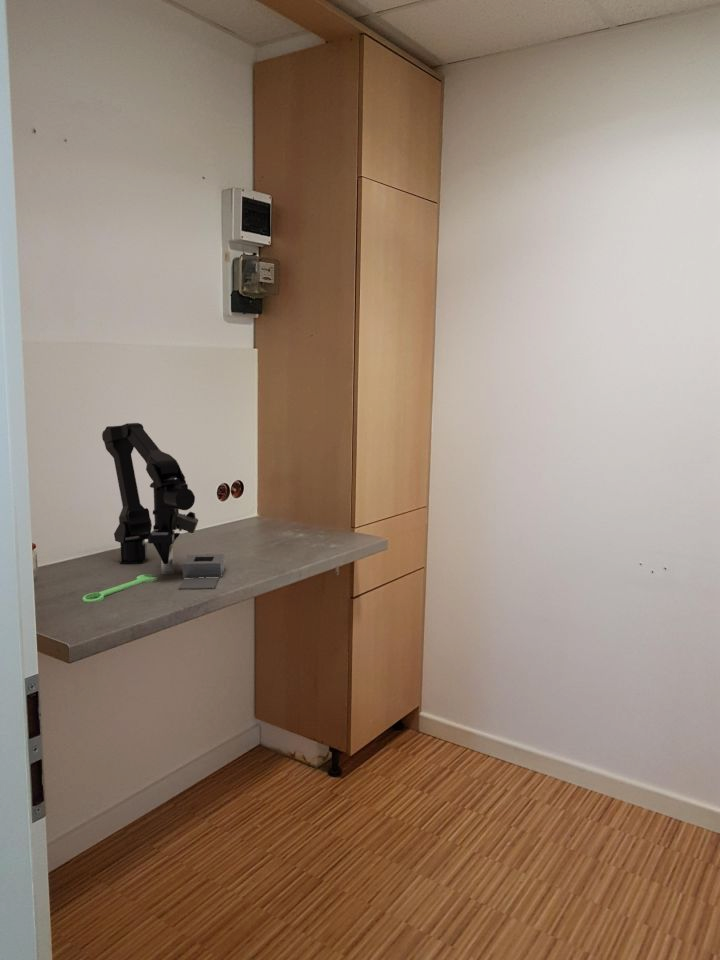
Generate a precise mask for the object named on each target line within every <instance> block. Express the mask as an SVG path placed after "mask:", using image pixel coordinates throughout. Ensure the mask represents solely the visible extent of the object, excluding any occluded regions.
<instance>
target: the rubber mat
mask: <svg viewBox="0 0 720 960" xmlns="http://www.w3.org/2000/svg"><path fill="white" fill-rule="evenodd" d="M217 581H219V578H193V579H183V578H182V581H181V583H180V585H179V586H178V589H191V590H211V589H210V588H215V589H216V587H217V584H218V582H217ZM216 583H217V584H216ZM215 586H216V587H215Z"/></svg>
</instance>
